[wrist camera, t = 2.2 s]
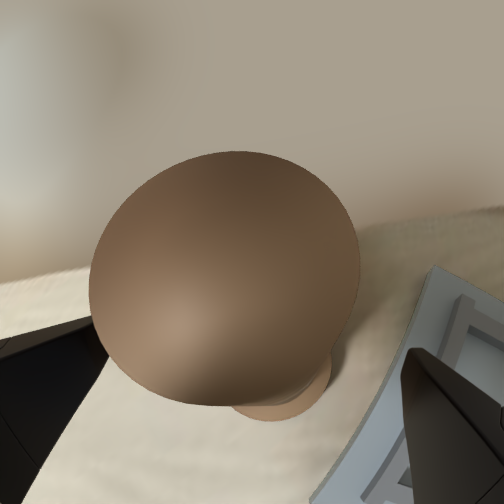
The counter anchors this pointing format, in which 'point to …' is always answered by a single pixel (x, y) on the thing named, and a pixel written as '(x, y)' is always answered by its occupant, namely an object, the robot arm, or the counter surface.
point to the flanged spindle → (227, 284)
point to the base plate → (390, 398)
